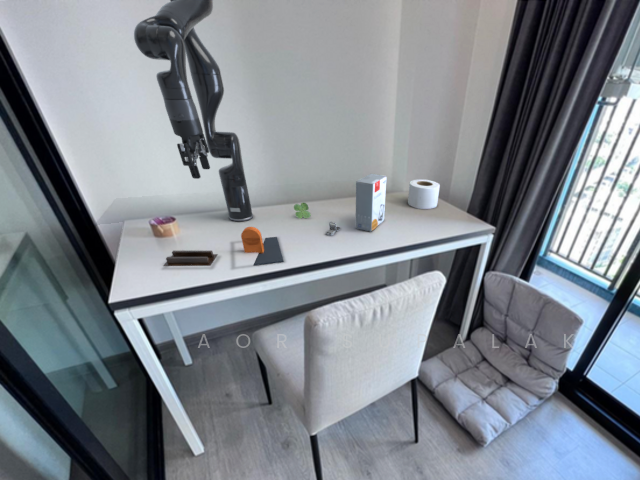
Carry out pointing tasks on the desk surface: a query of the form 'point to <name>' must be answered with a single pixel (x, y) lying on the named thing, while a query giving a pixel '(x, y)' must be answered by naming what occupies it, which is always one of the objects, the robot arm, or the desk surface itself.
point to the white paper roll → (423, 194)
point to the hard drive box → (370, 201)
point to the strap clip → (332, 229)
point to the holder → (191, 258)
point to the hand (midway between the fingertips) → (201, 173)
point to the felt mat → (269, 252)
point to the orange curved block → (252, 240)
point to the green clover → (302, 210)
